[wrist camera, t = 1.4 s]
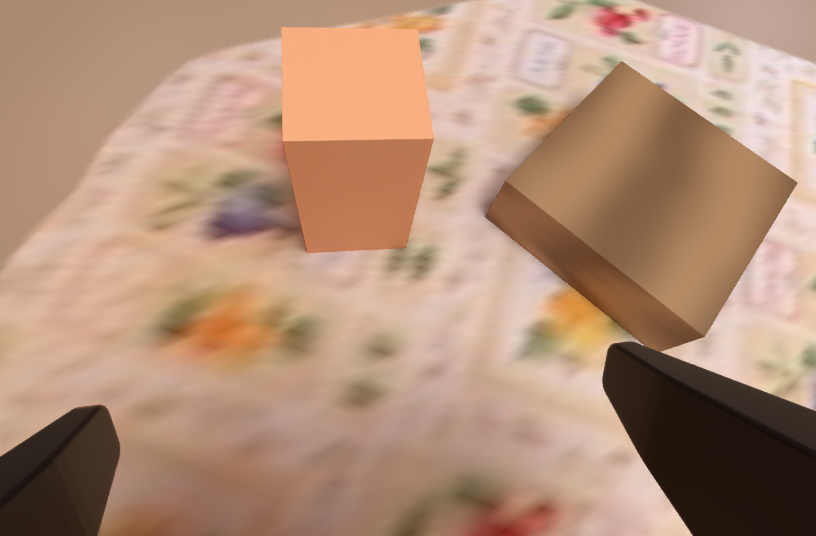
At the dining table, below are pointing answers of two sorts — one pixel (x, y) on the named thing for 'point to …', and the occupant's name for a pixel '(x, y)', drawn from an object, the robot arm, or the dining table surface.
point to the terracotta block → (355, 134)
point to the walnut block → (643, 208)
